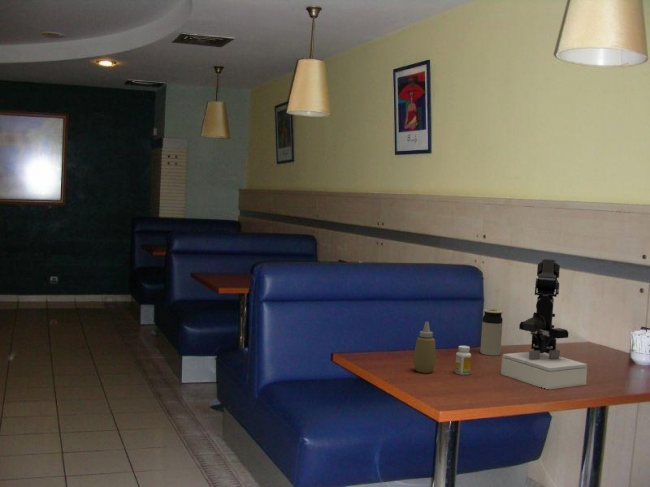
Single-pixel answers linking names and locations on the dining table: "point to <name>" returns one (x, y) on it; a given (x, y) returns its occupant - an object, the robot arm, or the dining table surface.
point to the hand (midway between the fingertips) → (541, 353)
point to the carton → (543, 375)
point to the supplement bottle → (463, 360)
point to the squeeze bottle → (425, 351)
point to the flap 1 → (527, 356)
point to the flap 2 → (556, 362)
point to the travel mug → (491, 332)
